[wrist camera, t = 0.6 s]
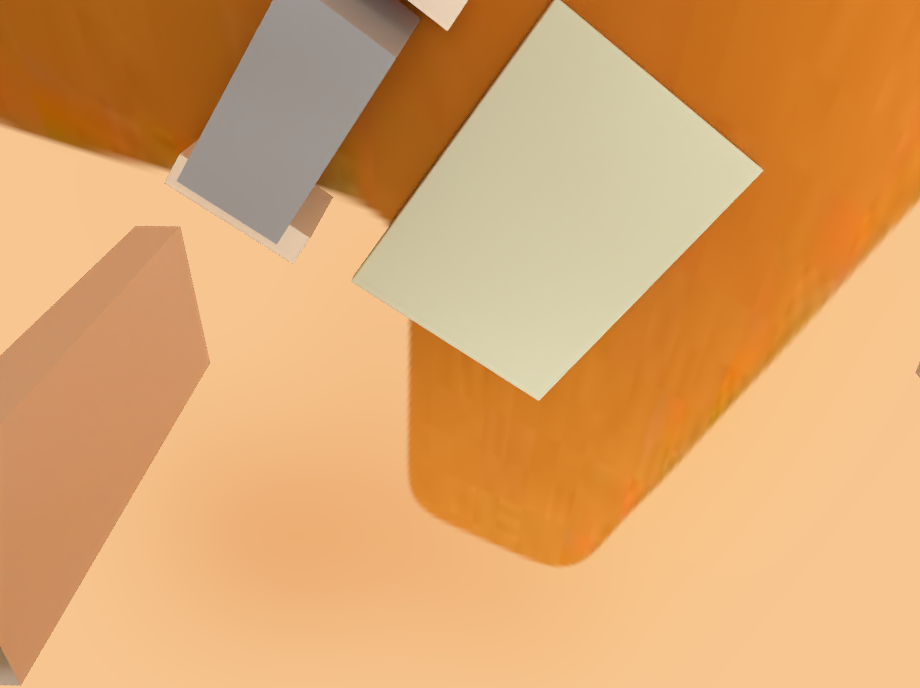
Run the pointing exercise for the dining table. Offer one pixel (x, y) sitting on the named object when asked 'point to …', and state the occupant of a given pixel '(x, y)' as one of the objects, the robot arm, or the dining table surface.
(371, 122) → the dining table surface
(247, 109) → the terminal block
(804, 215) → the dining table surface
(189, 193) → the white rectangular blocks
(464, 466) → the dining table surface
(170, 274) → the robot arm
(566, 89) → the sage mat
